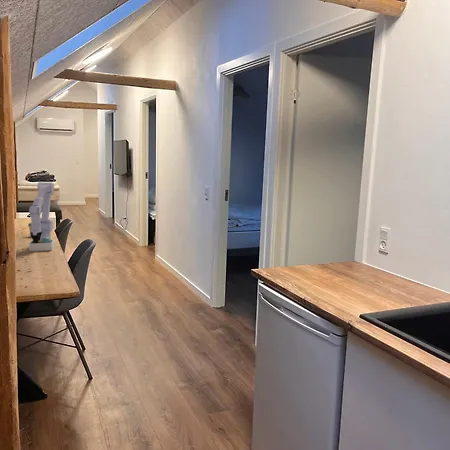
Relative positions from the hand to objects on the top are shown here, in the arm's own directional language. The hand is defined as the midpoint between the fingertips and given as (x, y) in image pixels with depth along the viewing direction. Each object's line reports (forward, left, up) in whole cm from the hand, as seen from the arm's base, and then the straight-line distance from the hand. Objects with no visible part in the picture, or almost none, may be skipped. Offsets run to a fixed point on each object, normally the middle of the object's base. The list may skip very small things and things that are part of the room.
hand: (37, 243), depth 300 cm
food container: (-50, -7, -4) cm, 51 cm away
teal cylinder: (0, +6, -3) cm, 7 cm away
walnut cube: (0, 0, -3) cm, 3 cm away
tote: (0, +3, -4) cm, 5 cm away
